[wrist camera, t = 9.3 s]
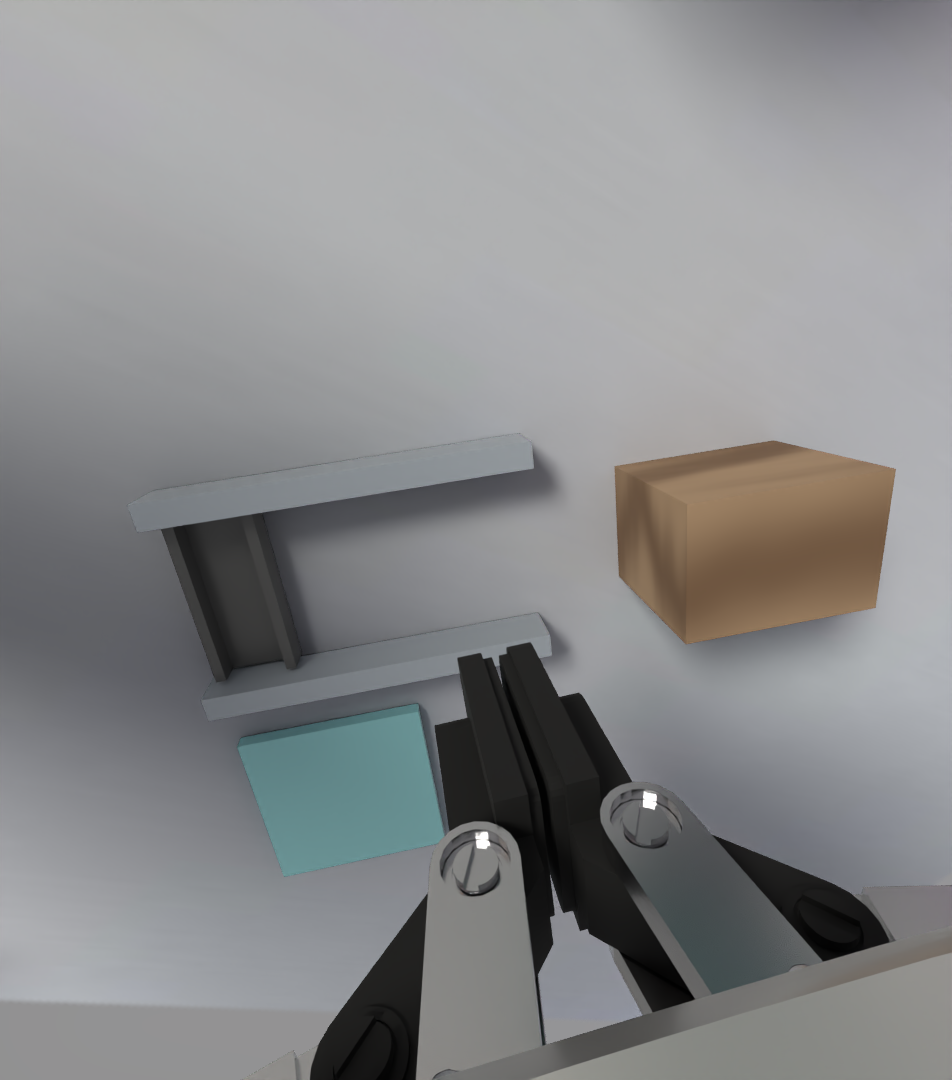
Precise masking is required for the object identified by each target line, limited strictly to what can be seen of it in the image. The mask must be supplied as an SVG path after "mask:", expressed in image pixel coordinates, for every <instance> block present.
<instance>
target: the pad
mask: <svg viewBox="0 0 952 1080" xmlns="http://www.w3.org/2000/svg"><path fill="white" fill-rule="evenodd" d="M237 748H238V751H239V754H240V757H241V760H242V762H243V765H244V768H245V771H246V773H247V776H248V779H249V782H250V784H251V787H252V790H253V793H254V795H255V798H256V801H257V804H258V806H259V809H260V812H261V815H262V817H263V820H264V823H265V826H266V828H267V831H268V834H269V837H270V840H271V842H272V845H273V848H274V851H275V853H276V856H277V859H278V862H279V864H280V867H281V870H282V873H283V875H284V877H286V876H291V875H295V874H300V873H305V872H309V871H314V870H319V869H323V868H328V867H332V866H337V865H342V864H346V863H351V862H355V861H360V860H365V859H369V858H374V857H378V856H383V855H388V854H392V853H397V852H401V851H406V850H411V849H415V848H420V847H425V846H429V845H434V844H438V843H439V841H440V840H441V839H442V838H443V837H444V836H445V831H444V826H443V822H442V817H441V812H440V807H439V802H438V797H437V792H436V788H435V783H434V778H433V773H432V768H431V763H430V759H429V754H428V749H427V744H426V739H425V734H424V729H423V725H422V720H421V715H420V710H419V705H418V703H417V704H412V705H406V706H401V707H396V708H391V709H386V710H381V711H376V712H371V713H365V714H360V715H355V716H350V717H345V718H340V719H335V720H330V721H324V722H319V723H314V724H309V725H304V726H299V727H294V728H289V729H283V730H278V731H273V732H268V733H263V734H258V735H253V736H248V737H242V738H241V739H240V741H239V744H238V746H237Z"/></svg>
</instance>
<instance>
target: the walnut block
mask: <svg viewBox="0 0 952 1080" xmlns="http://www.w3.org/2000/svg"><path fill="white" fill-rule="evenodd" d="M895 471H896V469H894V468H889V467H885V466H881V465H877V464H872V463H868V462H864V461H859V460H855V459H851V458H846V457H842V456H838V455H833V454H829V453H825V452H821V451H816V450H812V449H808V448H803V447H799V446H795V445H790V444H786V443H782V442H777V441H768V442H762V443H756V444H750V445H743V446H737V447H731V448H725V449H719V450H713V451H706V452H700V453H694V454H688V455H682V456H675V457H669V458H663V459H657V460H651V461H645V462H638V463H632V464H626V465H620V466H615V488H616V513H617V539H618V564H619V577H620V578H621V579H622V580H623V581H624V582H625V583H626V584H627V585H628V586H629V587H630V588H631V589H632V590H633V591H634V592H635V593H636V594H637V595H638V596H639V597H640V598H641V599H642V600H643V601H644V602H645V603H646V604H647V605H648V606H649V607H650V608H651V609H652V610H653V611H654V612H655V613H656V614H657V615H658V616H659V617H660V618H661V619H662V620H663V621H664V622H665V623H666V624H667V625H668V626H669V627H670V628H671V630H672V631H673V632H674V633H675V634H676V635H677V636H678V637H679V638H680V639H681V640H682V641H683V642H684V643H685V644H690V643H695V642H700V641H705V640H711V639H716V638H721V637H726V636H731V635H737V634H742V633H747V632H752V631H757V630H763V629H768V628H773V627H778V626H783V625H789V624H794V623H799V622H804V621H809V620H815V619H820V618H825V617H830V616H835V615H841V614H846V613H851V612H856V611H861V610H867V609H872V608H875V607H876V600H877V593H878V586H879V580H880V573H881V566H882V559H883V552H884V546H885V539H886V532H887V525H888V519H889V512H890V505H891V498H892V491H893V485H894V478H895Z"/></svg>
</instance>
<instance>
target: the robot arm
mask: <svg viewBox="0 0 952 1080" xmlns="http://www.w3.org/2000/svg"><path fill="white" fill-rule="evenodd" d="M506 652H507V654H503V655H499V664H500V671H501V678H502V684H501V681H500V678H499V676H498V673H497V670H496V667H495V664H494V662H493V659H492V657H489V658H485V659H483V657H482V654H481V653H477V654H472V655H467V656H463V657H458V658H457V661H458V667H459V672H460V678H461V684H462V689H463V695H464V701H465V706H466V712H467V718H465V719H461V720H457V721H452V722H448V723H443V724H439V725H435V733H436V740H437V747H438V754H439V761H440V768H441V775H442V782H443V789H444V796H445V803H446V810H447V817H448V824H449V832H448V833H447V834H446V835H445V836H444V837H443V838H442V839H441V840H440V841H439V843H438V845H437V846H436V848H435V850H434V852H433V854H432V858H431V863H430V869H429V885H428V894H427V895H426V896H425V898H424V899H423V900H422V902H421V903H420V904H419V906H418V907H417V908H416V910H415V911H414V912H413V914H412V915H411V916H410V918H409V919H408V920H407V922H406V923H405V925H404V926H403V927H402V929H401V930H400V931H399V933H398V934H397V935H396V937H395V938H394V939H393V941H392V942H391V943H390V945H389V946H388V947H387V949H386V950H385V951H384V953H383V954H382V956H381V957H380V958H379V960H378V961H377V962H376V964H375V965H374V966H373V968H372V969H371V970H370V972H369V973H368V974H367V976H366V977H365V978H364V980H363V981H362V983H361V984H360V985H359V987H358V988H357V989H356V991H355V992H354V993H353V995H352V996H351V997H350V999H349V1000H348V1001H347V1003H346V1004H345V1005H344V1007H343V1008H342V1009H341V1011H340V1012H339V1014H338V1015H337V1016H336V1018H335V1019H334V1021H333V1022H332V1023H331V1024H330V1026H329V1027H328V1029H327V1031H326V1033H325V1034H324V1036H323V1038H322V1040H321V1041H320V1043H319V1045H318V1046H316V1047H314V1048H312V1049H311V1050H309V1051H307V1052H305V1053H304V1054H302V1055H300V1056H298V1057H297V1056H296V1054H295V1052H294V1050H293V1051H291V1052H290V1053H288V1054H286V1055H285V1056H283V1057H281V1058H279V1059H277V1060H276V1061H274V1062H272V1063H270V1064H269V1065H267V1066H265V1067H263V1068H262V1069H260V1070H258V1071H256V1072H254V1073H253V1074H251V1075H249V1076H247V1077H246V1078H244V1079H242V1080H952V885H945V886H943V885H941V886H890V887H863V889H862V894H861V895H852V894H851V893H849V892H847V891H846V890H844V889H842V888H840V887H838V886H836V885H834V884H832V883H830V882H827V881H825V880H823V879H820V878H818V877H815V876H813V875H810V874H808V873H805V872H803V871H800V870H798V869H795V868H793V867H790V866H788V865H785V864H783V863H781V862H778V861H776V860H773V859H771V858H768V857H766V856H763V855H761V854H758V853H756V852H753V851H751V850H748V849H746V848H743V847H741V846H739V845H736V844H734V843H731V842H729V841H726V840H724V839H721V838H719V837H716V836H714V835H712V834H711V833H710V832H709V831H708V830H707V829H706V827H705V826H704V825H703V824H702V823H701V822H700V821H699V820H698V818H697V817H696V816H695V815H694V814H693V813H692V812H691V810H690V809H689V808H688V807H687V806H686V805H685V804H684V802H683V801H682V800H680V799H679V798H678V797H677V796H676V795H675V794H674V793H672V792H671V791H669V790H667V789H665V788H663V787H661V786H659V785H655V784H651V783H647V782H632V781H631V779H630V777H629V775H628V774H627V772H626V770H625V768H624V767H623V765H622V763H621V762H620V760H619V758H618V756H617V755H616V753H615V751H614V749H613V748H612V746H611V744H610V742H609V741H608V739H607V737H606V735H605V734H604V732H603V730H602V729H601V727H600V725H599V723H598V722H597V720H596V718H595V716H594V715H593V713H592V711H591V709H590V708H589V706H588V704H587V703H586V701H585V699H584V698H583V696H582V695H581V694H580V693H575V694H571V695H566V696H562V697H559V696H558V694H557V692H556V690H555V688H554V686H553V684H552V682H551V680H550V678H549V677H548V675H547V673H546V671H545V669H544V667H543V665H542V663H541V661H540V659H539V657H538V655H537V653H536V651H535V649H534V647H533V645H532V643H531V642H528V643H523V644H519V645H514V646H509V647H507V648H506ZM502 685H503V687H502ZM550 875H551V878H552V881H553V884H554V888H555V891H556V894H557V897H558V900H559V903H560V906H561V909H562V911H563V913H566V912H569V911H573V912H574V915H575V918H576V921H577V923H578V926H579V929H580V931H581V930H585V929H588V931H589V934H591V935H593V936H594V937H596V938H598V939H600V940H601V941H603V942H605V943H606V944H608V945H609V949H610V951H611V954H612V957H613V959H614V962H615V964H616V966H617V967H618V969H619V971H620V973H621V975H622V977H623V979H624V981H625V983H626V984H627V986H628V988H629V990H630V992H631V994H632V996H633V998H634V999H635V1001H636V1003H637V1005H638V1007H639V1009H640V1011H641V1013H642V1014H643V1016H640V1017H636V1018H633V1019H630V1020H627V1021H623V1022H620V1023H617V1024H613V1025H610V1026H607V1027H603V1028H600V1029H597V1030H593V1031H590V1032H587V1033H583V1034H580V1035H577V1036H574V1037H570V1038H567V1039H564V1040H560V1041H557V1042H554V1043H550V1044H547V1045H546V1036H545V1027H544V1019H543V1010H542V1001H541V993H540V984H539V977H538V973H539V971H540V969H541V967H542V965H543V963H544V961H545V959H546V957H547V955H548V953H549V951H550V949H551V947H552V945H553V938H552V930H551V922H550V917H551V916H554V915H555V913H554V904H553V896H552V888H551V880H550Z"/></svg>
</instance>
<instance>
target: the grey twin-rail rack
mask: <svg viewBox="0 0 952 1080" xmlns="http://www.w3.org/2000/svg"><path fill="white" fill-rule="evenodd" d="M533 468H534V463H533V452H532V442H531V441H530V440H529V439H528V438H526V437H525V436H523V435H522V434H520V433H518V434H512V435H506V436H499V437H493V438H486V439H480V440H474V441H467V442H461V443H454V444H448V445H442V446H435V447H429V448H423V449H416V450H410V451H403V452H397V453H391V454H384V455H378V456H371V457H365V458H359V459H352V460H346V461H340V462H333V463H327V464H320V465H314V466H308V467H301V468H295V469H288V470H282V471H276V472H269V473H263V474H257V475H250V476H244V477H237V478H231V479H225V480H218V481H212V482H205V483H199V484H193V485H186V486H180V487H174V488H167V489H161V490H154V491H151V492H150V493H148V494H146V495H144V496H142V497H141V498H139V499H137V500H135V501H133V502H132V503H130V504H128V505H127V507H128V510H129V512H130V515H131V518H132V520H133V523H134V526H135V528H136V531H137V533H139V532H145V531H152V530H158V529H161V530H162V533H163V536H164V539H165V541H166V544H167V547H168V550H169V553H170V555H171V558H172V561H173V564H174V566H175V569H176V572H177V575H178V578H179V580H180V583H181V586H182V589H183V591H184V594H185V597H186V600H187V602H188V605H189V608H190V611H191V614H192V616H193V619H194V622H195V625H196V627H197V630H198V633H199V636H200V639H201V641H202V644H203V647H204V650H205V652H206V655H207V658H208V661H209V664H210V666H211V669H212V672H213V675H214V679H213V680H212V682H211V684H210V686H209V687H208V689H207V691H206V692H205V694H204V696H203V698H202V699H201V703H202V705H203V708H204V711H205V713H206V716H207V719H208V721H214V720H219V719H225V718H230V717H235V716H240V715H245V714H251V713H256V712H261V711H266V710H272V709H277V708H282V707H287V706H292V705H298V704H303V703H308V702H313V701H318V700H324V699H329V698H334V697H339V696H345V695H350V694H355V693H360V692H365V691H371V690H376V689H381V688H386V687H391V686H397V685H402V684H407V683H412V682H418V681H423V680H428V679H433V678H438V677H444V676H449V675H454V674H459V673H460V672H459V667H458V661H457V658H458V657H463V656H467V655H472V654H477V653H481V654H482V657H483V659H485V658H489V657H492V659H493V662H494V664H495V667H496V666H500V664H499V655H503V654H507V652H506V648H507V647H509V646H514V645H519V644H523V643H528V642H531V643H532V645H533V647H534V649H535V651H536V653H537V655H538V657H539V658H543V657H548V656H552V650H551V639H550V634H549V632H548V630H547V628H546V626H545V624H544V622H543V621H542V619H541V617H540V615H539V613H533V614H528V615H523V616H517V617H512V618H506V619H501V620H495V621H490V622H485V623H479V624H474V625H468V626H463V627H458V628H452V629H447V630H441V631H436V632H430V633H425V634H420V635H414V636H409V637H403V638H398V639H393V640H387V641H382V642H376V643H371V644H366V645H360V646H355V647H349V648H344V649H338V650H333V651H328V652H322V653H317V654H311V655H306V656H301V653H302V651H301V648H300V644H299V641H298V637H297V634H296V630H295V627H294V623H293V620H292V616H291V613H290V609H289V606H288V602H287V599H286V595H285V592H284V588H283V585H282V582H281V578H280V575H279V571H278V568H277V564H276V561H275V557H274V554H273V550H272V547H271V543H270V540H269V536H268V533H267V529H266V526H265V522H264V519H263V515H262V512H269V511H275V510H281V509H287V508H293V507H299V506H306V505H312V504H318V503H324V502H330V501H336V500H343V499H349V498H355V497H361V496H367V495H373V494H379V493H386V492H392V491H398V490H404V489H410V488H416V487H423V486H429V485H435V484H441V483H447V482H453V481H460V480H466V479H472V478H478V477H484V476H490V475H496V474H503V473H509V472H515V471H521V470H527V469H533ZM300 656H301V657H300ZM281 659H284V660H281ZM275 660H279V661H275ZM270 661H274V662H270ZM264 662H268V663H264ZM259 663H263V664H259ZM254 664H257V665H254ZM248 665H252V666H248ZM243 666H246V667H243ZM237 667H241V668H237ZM233 668H236V669H233Z"/></svg>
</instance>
